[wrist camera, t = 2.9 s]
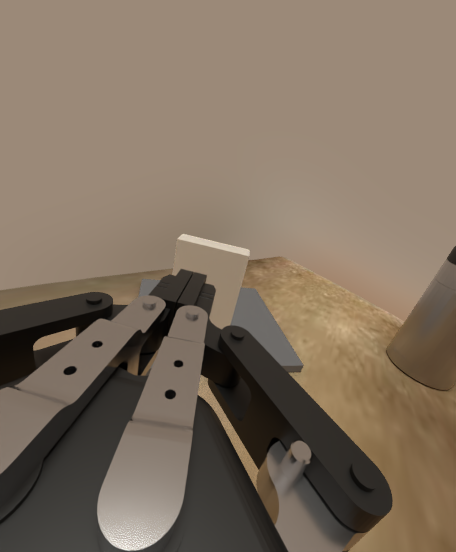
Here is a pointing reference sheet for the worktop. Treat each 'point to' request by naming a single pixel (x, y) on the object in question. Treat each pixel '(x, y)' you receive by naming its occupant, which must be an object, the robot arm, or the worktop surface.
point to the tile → (214, 271)
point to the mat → (253, 325)
